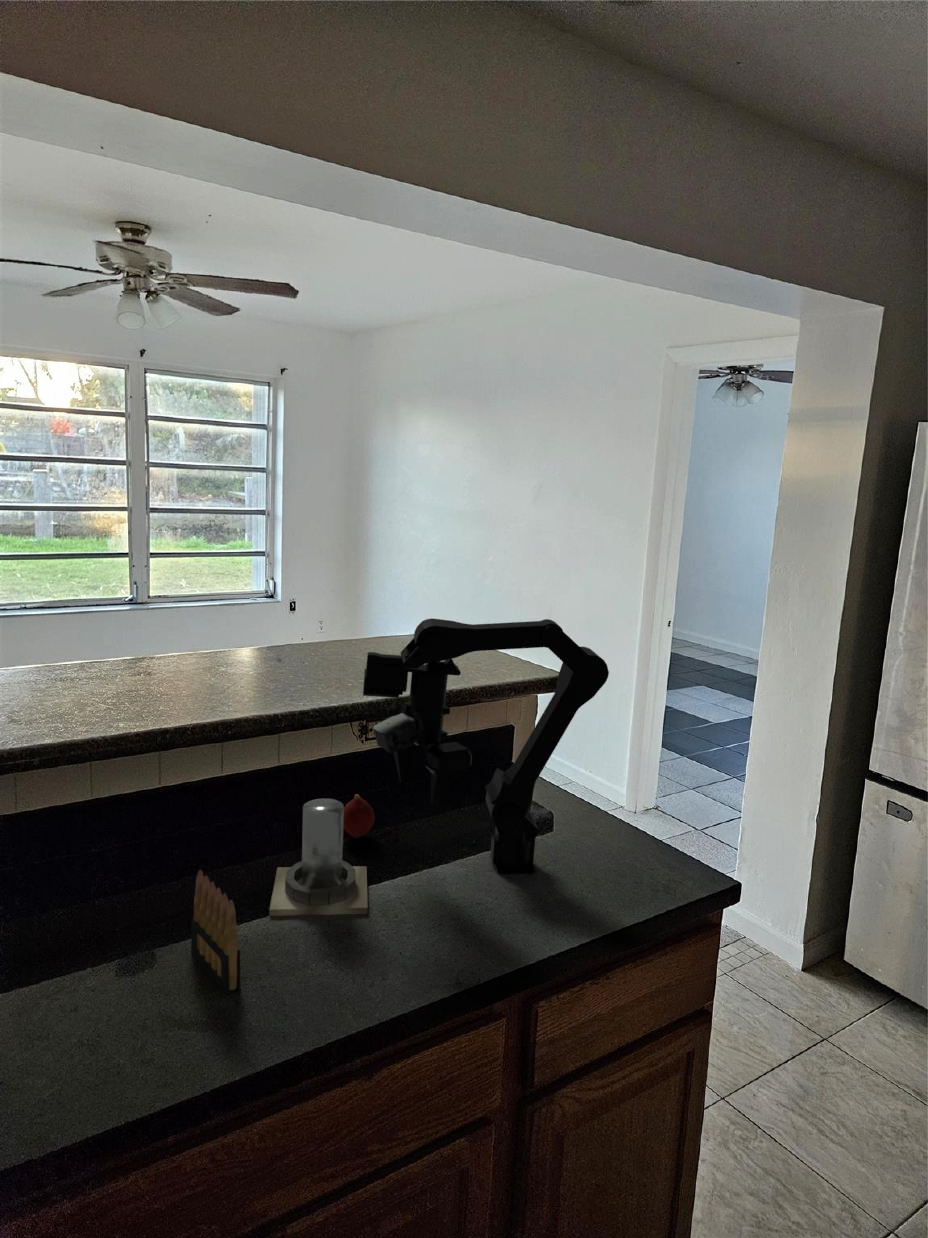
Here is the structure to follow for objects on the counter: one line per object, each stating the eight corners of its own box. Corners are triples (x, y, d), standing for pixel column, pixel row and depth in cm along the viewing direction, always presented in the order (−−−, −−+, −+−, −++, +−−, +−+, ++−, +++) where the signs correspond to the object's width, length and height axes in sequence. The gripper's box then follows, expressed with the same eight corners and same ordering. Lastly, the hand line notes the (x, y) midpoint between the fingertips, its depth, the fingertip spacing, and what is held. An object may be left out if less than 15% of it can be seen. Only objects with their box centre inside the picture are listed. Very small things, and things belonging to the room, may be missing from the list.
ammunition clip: (241, 989, 97) (241, 901, 95) (226, 995, 96) (227, 906, 94) (204, 947, 105) (204, 864, 103) (190, 952, 104) (190, 869, 101)
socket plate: (366, 872, 126) (367, 854, 126) (367, 914, 115) (368, 895, 114) (277, 873, 124) (277, 855, 124) (269, 916, 113) (269, 897, 112)
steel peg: (341, 876, 123) (344, 798, 120) (341, 897, 117) (343, 815, 114) (302, 876, 122) (304, 798, 119) (300, 897, 116) (301, 816, 114)
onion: (376, 831, 140) (378, 789, 139) (369, 846, 135) (371, 803, 133) (344, 828, 141) (346, 786, 139) (336, 843, 135) (337, 800, 134)
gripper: (353, 687, 127) (346, 779, 129) (417, 722, 112) (408, 824, 115) (411, 682, 133) (403, 769, 136) (478, 714, 119) (468, 811, 122)
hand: (418, 792), depth 127 cm, fingers open, 9 cm apart
